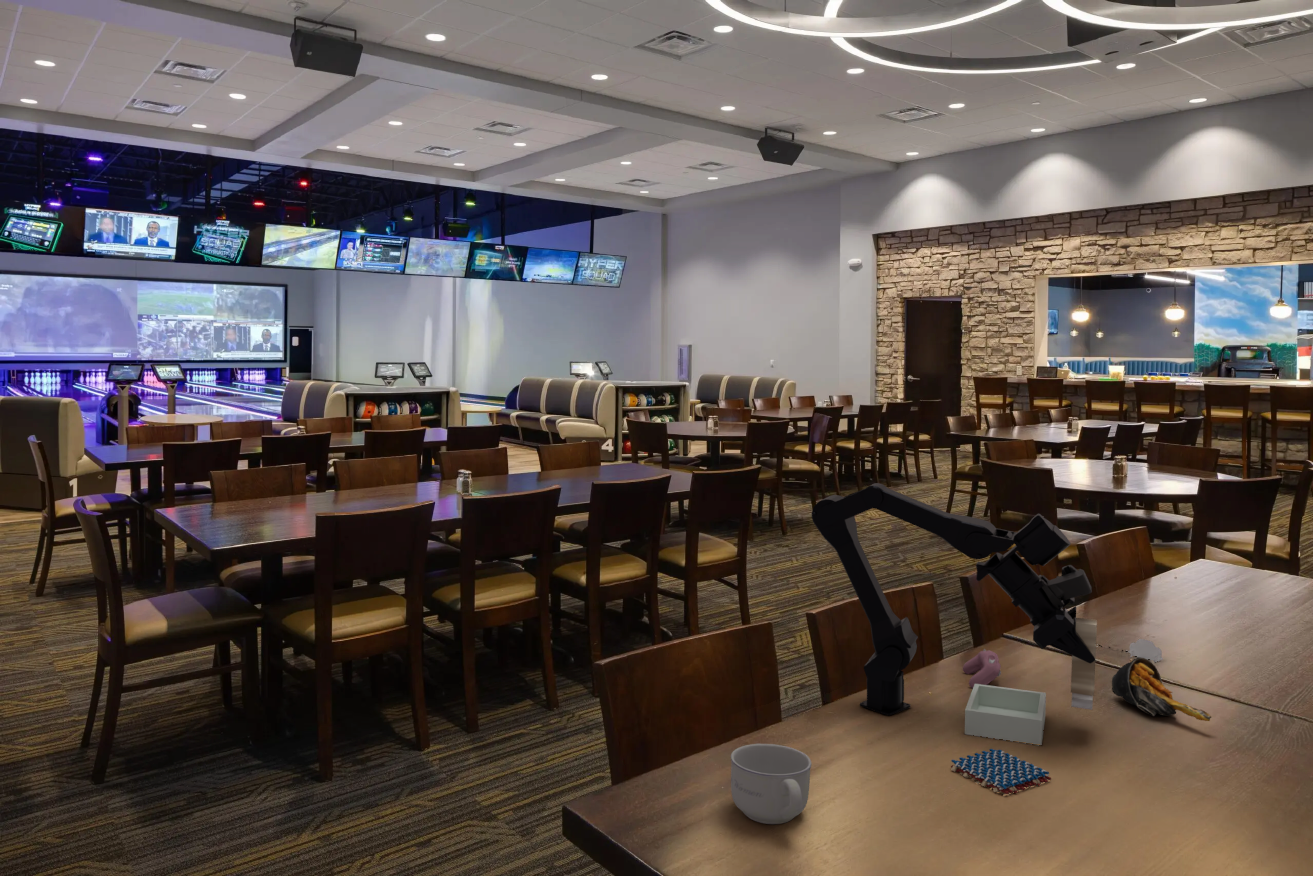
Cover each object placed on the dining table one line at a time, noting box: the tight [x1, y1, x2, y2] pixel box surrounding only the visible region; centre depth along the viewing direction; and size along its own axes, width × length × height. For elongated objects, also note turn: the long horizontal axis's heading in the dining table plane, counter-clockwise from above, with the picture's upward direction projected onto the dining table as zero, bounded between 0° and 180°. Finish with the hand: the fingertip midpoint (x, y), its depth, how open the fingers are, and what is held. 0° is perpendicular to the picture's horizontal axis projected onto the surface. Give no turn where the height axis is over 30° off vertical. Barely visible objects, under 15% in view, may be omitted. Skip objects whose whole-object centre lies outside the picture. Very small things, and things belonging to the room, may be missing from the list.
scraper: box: [1070, 617, 1098, 710], centre depth 147 cm, size 8×3×13 cm, turn 155°
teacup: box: [730, 743, 812, 825], centre depth 122 cm, size 14×11×8 cm
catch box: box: [964, 684, 1047, 745], centre depth 153 cm, size 14×12×4 cm
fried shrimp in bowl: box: [1111, 657, 1212, 722], centre depth 157 cm, size 9×11×18 cm
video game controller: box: [962, 648, 1002, 689], centre depth 174 cm, size 10×5×7 cm, turn 169°
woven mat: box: [950, 748, 1052, 795], centre depth 134 cm, size 10×11×2 cm
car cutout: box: [1127, 638, 1164, 664], centre depth 190 cm, size 15×7×4 cm, turn 41°
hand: (1093, 658), depth 147 cm, fingers closed on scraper, 3 cm apart
